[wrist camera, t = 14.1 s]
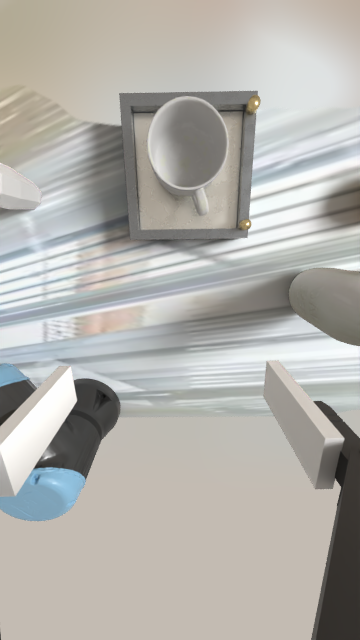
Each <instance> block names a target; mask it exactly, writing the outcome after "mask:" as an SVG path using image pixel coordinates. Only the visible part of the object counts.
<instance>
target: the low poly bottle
mask: <svg viewBox="0 0 360 640" xmlns="http://www.w3.org/2000/svg"><path fill="white" fill-rule="evenodd" d="M41 198H42V192H41V190H40V189H39V188H38V187H37V186H36V184H35V183H33V182H32V181H30V180H29V179H27V178H26V177H24V176H23V175H21V174H20V173H18V172H17V171H15V170H13V169H12V168H10V167H9V166H7V165H4V164H2V163H0V207H1V208H6V209H35V208H36V207H37V206H38V205H39V204H40V203H41Z"/></svg>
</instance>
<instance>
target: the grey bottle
mask: <svg viewBox="0 0 360 640" xmlns="http://www.w3.org/2000/svg"><path fill="white" fill-rule="evenodd" d="M289 301H290V304H291V306H292V308H293V310H294V311H295V312H296V313H297V314H298V315H299V316H300V317H301V318H303V319H304V320H306V321H307V322H309V323H310V324H312V325H314V326H315V327H317V328H318V329H320V330H321V331H323V332H324V333H326V334H327V335H329V336H331V337H332V338H334V339H336V340H338V341H341V342H344V343H347V344H351V345H356V346H360V272H359V271H348V270H342V269H336V268H312V269H308V270H306V271H303V272H301V273H300V274H298V275H297V276H296V277H295V279H294V280H293V282H292V283H291V285H290V288H289Z"/></svg>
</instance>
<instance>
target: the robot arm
mask: <svg viewBox="0 0 360 640" xmlns="http://www.w3.org/2000/svg"><path fill="white" fill-rule="evenodd" d="M263 396H264V398H265V400H266V402H267V404H268V405H269V407H270V409H271V411H272V413H273V414H274V416H275V418H276V420H277V421H278V423H279V425H280V427H281V429H282V430H283V432H284V434H285V436H286V438H287V439H288V441H289V443H290V445H291V447H292V448H293V450H294V452H295V454H296V456H297V457H298V459H299V461H300V463H301V465H302V466H303V468H304V470H305V472H306V473H307V475H308V477H309V479H310V481H311V483H312V484H313V486H314V488H315V489H333V485H334V481H335V479H336V480H337V482H338V483H339V484H340V486H341V491H340V495H339V500H338V503H337V511H336V516H335V521H334V526H333V532H332V537H331V542H330V547H329V552H328V557H327V562H326V567H325V573H324V577H323V582H322V587H321V593H320V598H319V604H318V608H317V613H316V618H315V624H314V628H313V633H312V638H311V640H360V438H359V437H358V436H357V435H356V434H355V433H354V432H353V431H352V430H351V429H350V428H349V427H348V425H347V424H346V423H345V422H343V420H342V419H341V418H340V417H339V416H337V414H336V412H335V411H334V410H333V409H332V408H331V407H330V406H328V405H326V404H325V403H323V402H322V401H312V400H311V398H310V397H309V396H308V395H307V394H306V393H305V391H304V390H303V389H302V388H301V387H300V386H299V384H298V383H297V382H296V381H295V380H294V379H293V377H292V376H291V375H290V374H289V373H288V372H287V370H286V369H285V368H284V367H283V366H282V364H281V363H280V362H279V361H267V363H266V374H265V385H264V395H263ZM119 414H120V402H119V399H118V397H117V395H116V394H115V392H114V391H113V390H112V389H111V388H110V387H108V386H107V385H105V384H104V383H102V382H99V381H96V380H92V379H78V380H75V381H73V376H72V371H71V366H59V367H58V368H57V369H56V370H55V371H54V372H53V373H52V374H51V375H50V376H49V377H48V378H47V379H46V380H45V381H44V382H43V383H42V384H41V386H40V387H39V388H38V389H37V388H36V387H35V386H34V384H33V383H32V382H31V381H30V378H29V377H26V376H25V375H24V374H23V373H22V372H20V371H19V370H18V369H17V368H16V367H15V366H14V365H12V364H7V363H5V364H0V509H1V510H2V511H3V512H5V513H6V514H8V515H10V516H13V517H15V518H18V519H22V520H28V521H45V520H51V519H54V518H57V517H59V516H61V515H63V514H65V513H66V512H68V511H69V510H70V509H71V508H72V506H73V505H74V504H75V502H76V500H77V498H78V496H79V494H80V492H81V490H82V488H83V487H84V485H85V482H86V481H85V480H86V478H87V475H88V473H89V470H90V468H91V465H92V462H93V460H94V457H95V455H96V452H97V450H98V447H99V445H100V442H101V440H102V439H103V438H104V437H105V436H106V435H107V433H108V432H109V431H110V430H111V429H112V428H113V427H114V426H115V424H116V422H117V420H118V417H119ZM0 640H1V634H0Z"/></svg>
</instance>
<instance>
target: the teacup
mask: <svg viewBox="0 0 360 640" xmlns="http://www.w3.org/2000/svg"><path fill="white" fill-rule="evenodd" d="M147 152H148V157H149V161H150V163H151V166H152V169H153V172H154V174H155V176H156V178H157V180H158V181H159V183H160V184H161V185H162V186H163V187H164V188H165V189H166V190H167V191H169V192H170V193H173V194H175V195H178V196H191V197H192V200H193V202H194V205H195V208H196V211H197V213H198V215H199V216H204V215H206V214H207V213H208V211H209V207H208V201H207V197H206V194H205V192H204V190H205V189H206V188H207V187H208V186H209V185H210V184H211V183H212V182H213V180H214V179H215V178H216V177H217V176H218V174H219V173H220V172H221V170H222V168H223V166H224V164H225V161H226V158H227V154H228V133H227V129H226V126H225V123H224V121H223V119H222V117H221V115H220V114H219V113H218V111H217V110H216V109H215V108H214V107H213V106H212V105H211V104H209V103H208V102H206V101H205V100H203V99H200V98H197V97H191V96H183V97H177V98H175V99H172V100H170V101H168V102H167V103H165V104H164V105H163V106H162V107H161V108H160V109H159V110H158V111H157V112H156V114H155V116H154V117H153V119H152V121H151V124H150V126H149V130H148V135H147Z"/></svg>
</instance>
